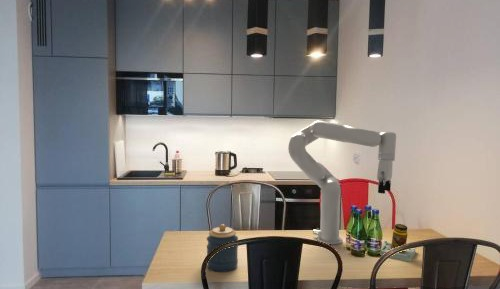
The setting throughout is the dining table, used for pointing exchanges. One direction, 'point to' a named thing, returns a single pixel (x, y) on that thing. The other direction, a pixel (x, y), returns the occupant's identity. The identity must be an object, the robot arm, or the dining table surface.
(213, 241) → the canister
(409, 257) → the socket plate
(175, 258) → the dining table surface
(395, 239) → the condiment
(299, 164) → the robot arm
